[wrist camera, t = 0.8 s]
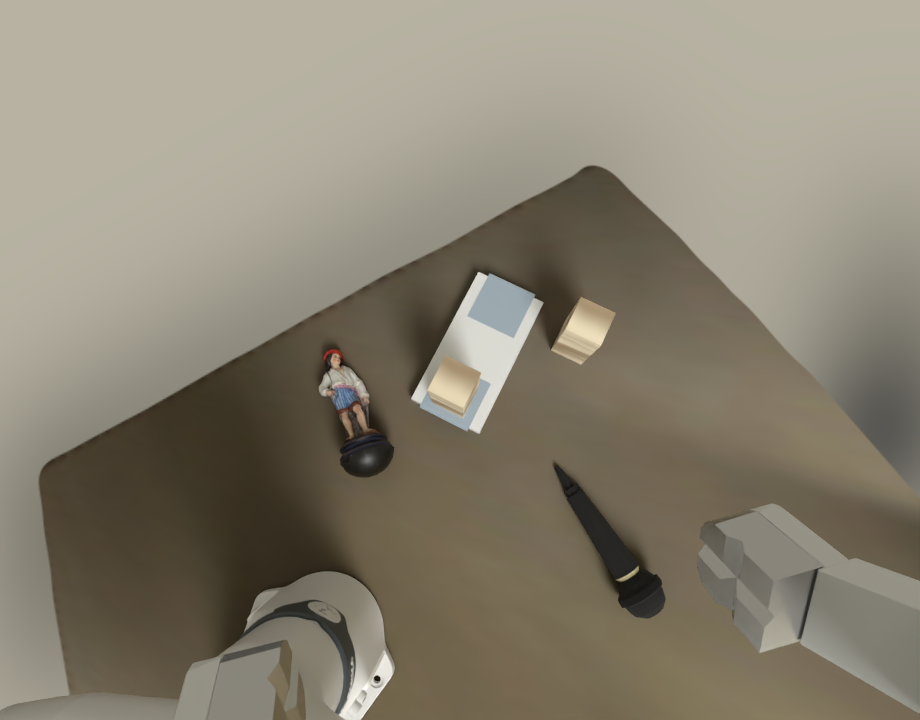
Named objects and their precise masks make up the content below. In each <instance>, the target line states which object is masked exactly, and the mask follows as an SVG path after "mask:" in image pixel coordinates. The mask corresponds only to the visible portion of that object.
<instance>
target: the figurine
mask: <svg viewBox="0 0 920 720" xmlns="http://www.w3.org/2000/svg"><path fill="white" fill-rule="evenodd" d="M323 361H324V363H325V365H326V366H327V368H328V369H327V370H326V373H325V375H324V376H323V380H322V383H321V384H320V386H319V392H320V394H321V396H324V397H329V396H330V398H331V399H332V402H333V404H334V405H335V407H336V411H337V414H339V418H340V421H341V422H342V423H343V424H344V426H345V436H346V437H347V439H346V441H345V443H344V444H343V446H342V447H341V449H340V453H341V454H343V455H342V457H341V458H340V462H341V463H340V464H341V466H342V467H343V468H344V469H345V471H346V472H347V473H349V474H351V475H353V476H356V477H371V476H374V475H377V474H378V473H380V472H382V471H383V470H385V469H386V468H387V466H388V465H389V464H390V462H391V460H392V458H393V453H394V447H393V446H392V445H391V444H390V442H388V441H385V439H386V435H384V434H382V433H381V432H379V431H376V430H375V429H369V410H368V404H369V399H368V398H369V394H368V393H367V391H366V388H365V385H364V384H363V381H362V380H360V379H359V378H358V377H357V375H356V374H355V373H354V372H353V370H352V369H350V368H349V367H348V366H344V365H342V361H343V356H342V354H341V352H340V351H339V350H337V349H330V350H328V351H327V352H326V353H325V355H324V357H323Z"/></svg>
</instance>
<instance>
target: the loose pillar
mask: <svg viewBox="0 0 920 720" xmlns="http://www.w3.org/2000/svg"><path fill="white" fill-rule="evenodd" d="M615 314H616V313H614V312H612V311H610V310H608V309H606V308H603V307H601V306H599V305H597V304H595V303H593V302H591V301H588V300H586V299H584V298H582V297H581V298H580V299H579V301H578V302H577V304H576V305H575V307H574V308H573V310H572V311H571V313H570V314H569V316H568V317H567V319H566V320H565V322H564V324H563V326H562V328H561V330H560V332H559V334H558V336H557V338H556V340H555V342H554V345H553V347H552V349H551V351H554V352H556V353H558V354H560V355H562V356H564V357H566V358H568V359H570V360H572V361H574V362H577V363H579V364H582V363H583V362H584V361H585V360H586V359H587V358H588V357H589V356H590V355H592V354H593V353H594V352H595V351H596V350H597V349H598V348H599V347H600V346H601V344H602V342H603V340H604V338H605V335H606V333H607V331H608V329H609V327H610V325H611V322H612V320H613V318H614V316H615Z"/></svg>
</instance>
